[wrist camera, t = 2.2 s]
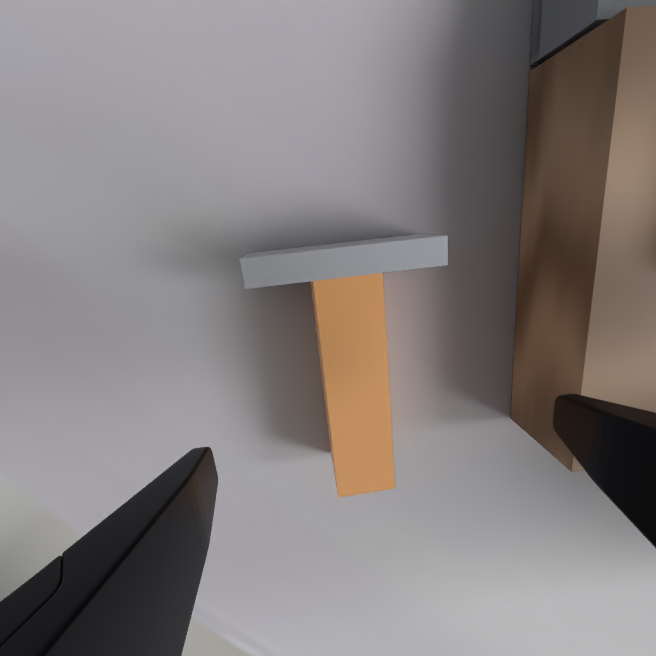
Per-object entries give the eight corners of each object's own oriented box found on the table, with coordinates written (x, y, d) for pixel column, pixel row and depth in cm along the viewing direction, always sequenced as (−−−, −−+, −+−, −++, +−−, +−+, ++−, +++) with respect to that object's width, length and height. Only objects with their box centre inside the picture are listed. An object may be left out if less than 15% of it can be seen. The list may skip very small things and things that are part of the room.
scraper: (422, 438, 17) (448, 479, 15) (284, 459, 17) (282, 506, 14) (417, 233, 15) (447, 235, 12) (250, 252, 14) (239, 259, 11)
